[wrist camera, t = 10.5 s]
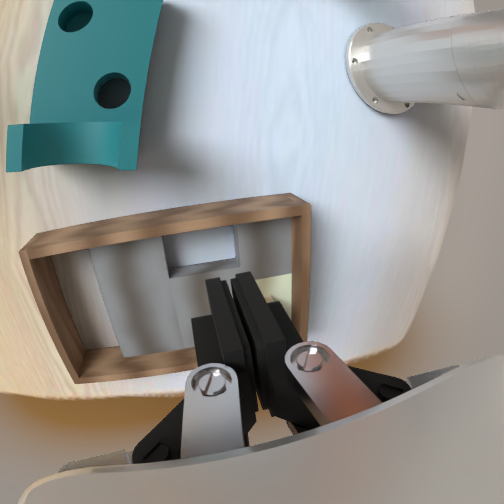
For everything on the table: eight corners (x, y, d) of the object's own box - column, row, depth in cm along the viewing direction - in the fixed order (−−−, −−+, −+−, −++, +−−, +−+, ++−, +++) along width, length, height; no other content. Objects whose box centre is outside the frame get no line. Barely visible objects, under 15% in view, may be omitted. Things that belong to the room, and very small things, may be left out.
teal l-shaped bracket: (136, 157, 30) (136, 170, 21) (42, 157, 26) (6, 172, 17) (162, 2, 24) (175, -42, 15) (68, 1, 20) (47, -39, 11)
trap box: (290, 192, 36) (310, 204, 31) (291, 320, 43) (306, 344, 38) (36, 233, 29) (18, 252, 24) (81, 356, 37) (75, 384, 32)
